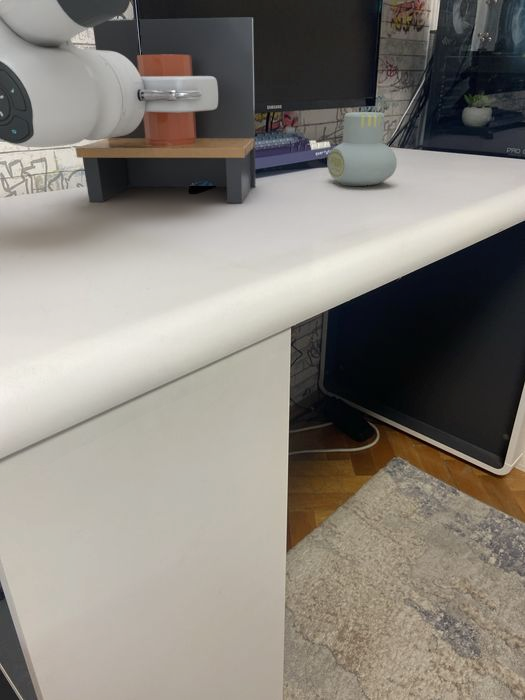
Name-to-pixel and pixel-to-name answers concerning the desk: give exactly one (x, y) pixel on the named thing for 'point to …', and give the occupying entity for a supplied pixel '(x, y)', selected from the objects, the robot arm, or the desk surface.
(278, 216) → the desk surface
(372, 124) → the air freshener
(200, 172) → the shelf rack
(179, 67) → the cup
